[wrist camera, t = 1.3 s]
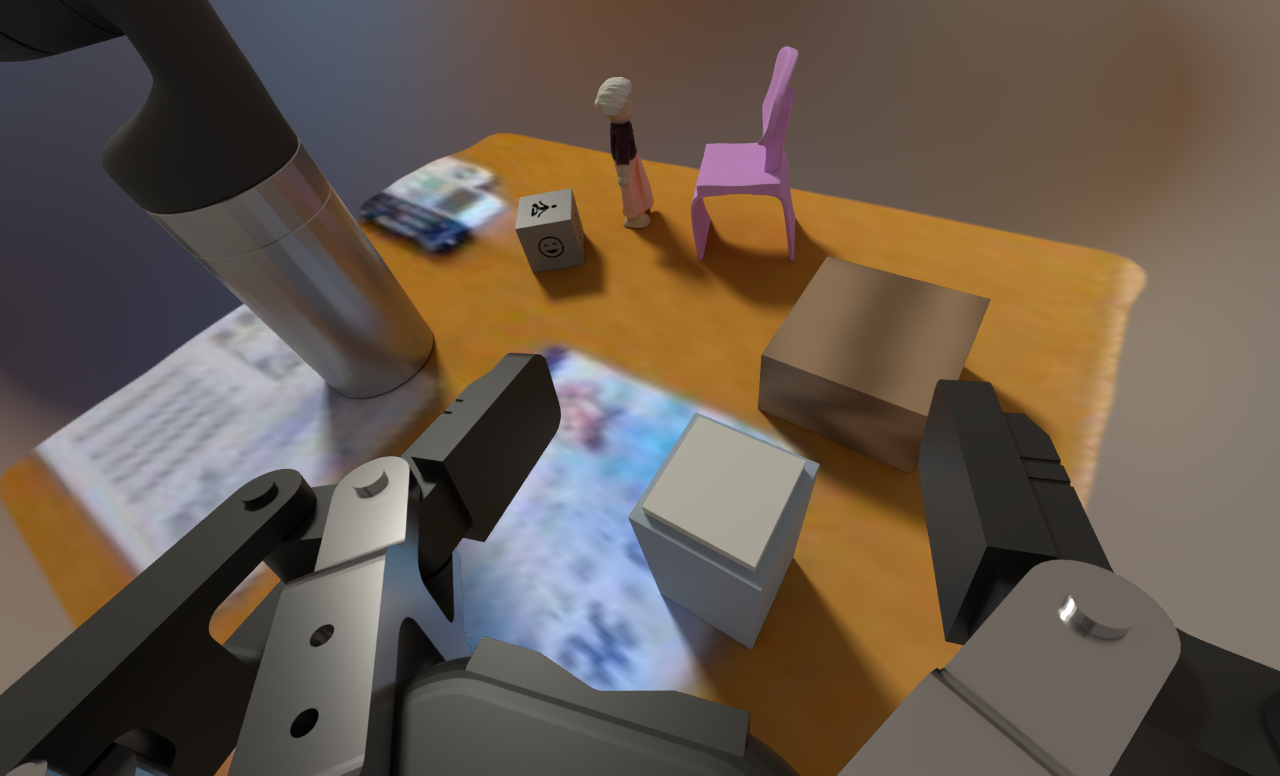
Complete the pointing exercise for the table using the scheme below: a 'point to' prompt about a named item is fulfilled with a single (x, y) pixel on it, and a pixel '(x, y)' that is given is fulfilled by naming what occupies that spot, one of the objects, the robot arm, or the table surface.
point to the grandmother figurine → (626, 151)
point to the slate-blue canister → (724, 524)
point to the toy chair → (752, 159)
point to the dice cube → (550, 230)
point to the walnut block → (867, 358)
